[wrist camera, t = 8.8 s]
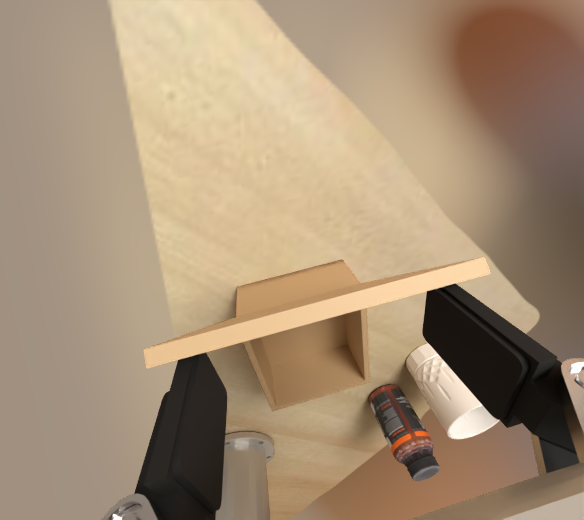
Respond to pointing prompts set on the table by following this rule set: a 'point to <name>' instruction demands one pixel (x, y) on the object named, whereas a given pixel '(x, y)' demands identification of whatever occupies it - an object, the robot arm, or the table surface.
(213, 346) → the cardboard box lid
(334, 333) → the carton
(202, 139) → the table surface
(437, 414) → the white cup
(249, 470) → the robot arm
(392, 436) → the supplement bottle
